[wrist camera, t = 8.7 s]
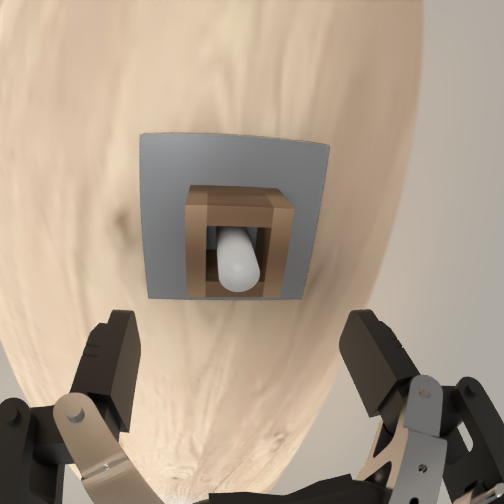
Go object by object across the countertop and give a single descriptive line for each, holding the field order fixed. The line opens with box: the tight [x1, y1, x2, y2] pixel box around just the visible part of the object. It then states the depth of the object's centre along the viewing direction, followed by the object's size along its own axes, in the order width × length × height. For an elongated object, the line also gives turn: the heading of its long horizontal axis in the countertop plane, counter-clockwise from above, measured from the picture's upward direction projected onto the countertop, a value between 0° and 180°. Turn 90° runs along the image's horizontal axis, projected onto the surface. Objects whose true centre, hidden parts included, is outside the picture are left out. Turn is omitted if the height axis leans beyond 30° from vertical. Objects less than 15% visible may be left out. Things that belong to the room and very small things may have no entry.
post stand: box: [140, 133, 330, 300], centre depth 17 cm, size 12×12×7 cm
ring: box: [185, 185, 295, 297], centre depth 18 cm, size 6×6×4 cm
